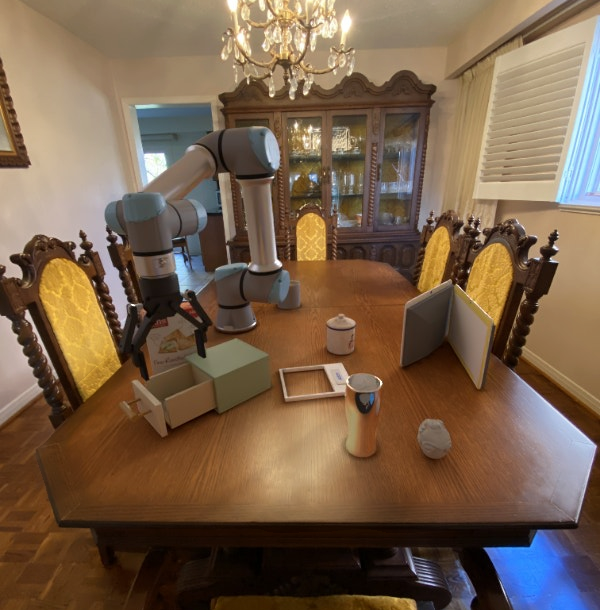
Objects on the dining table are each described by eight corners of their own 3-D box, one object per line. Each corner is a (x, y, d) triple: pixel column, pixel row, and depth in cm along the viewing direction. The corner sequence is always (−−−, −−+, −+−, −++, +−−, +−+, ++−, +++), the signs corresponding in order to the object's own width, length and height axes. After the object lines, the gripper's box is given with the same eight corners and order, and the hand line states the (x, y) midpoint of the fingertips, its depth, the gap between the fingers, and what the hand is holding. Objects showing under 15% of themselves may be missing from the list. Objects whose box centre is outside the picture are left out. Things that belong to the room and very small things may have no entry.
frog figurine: (440, 440, 70) (444, 412, 68) (455, 467, 64) (461, 436, 61) (410, 442, 70) (413, 413, 68) (423, 468, 64) (427, 438, 61)
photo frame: (357, 390, 86) (285, 397, 83) (356, 393, 86) (285, 401, 84) (341, 362, 99) (279, 368, 97) (341, 365, 100) (279, 371, 97)
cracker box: (156, 390, 90) (141, 315, 82) (154, 380, 95) (139, 308, 87) (210, 376, 96) (200, 305, 88) (205, 367, 101) (195, 299, 93)
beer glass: (340, 436, 72) (341, 373, 67) (372, 433, 73) (377, 371, 67) (347, 460, 66) (349, 393, 60) (383, 457, 66) (388, 391, 61)
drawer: (141, 448, 69) (133, 415, 66) (118, 418, 78) (111, 388, 75) (222, 407, 81) (218, 378, 78) (194, 385, 90) (190, 359, 87)
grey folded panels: (495, 391, 86) (510, 318, 79) (405, 388, 88) (412, 317, 81) (452, 334, 118) (461, 278, 111) (387, 333, 120) (392, 278, 113)
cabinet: (219, 414, 80) (214, 378, 77) (189, 389, 90) (184, 357, 87) (271, 387, 90) (269, 354, 87) (239, 368, 100) (236, 338, 97)
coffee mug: (299, 300, 156) (298, 279, 152) (301, 308, 147) (300, 285, 143) (269, 302, 155) (268, 280, 151) (269, 310, 145) (268, 287, 142)
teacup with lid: (354, 356, 105) (356, 320, 101) (324, 354, 106) (325, 319, 102) (355, 339, 116) (356, 307, 112) (328, 338, 118) (328, 306, 113)
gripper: (95, 292, 59) (123, 396, 67) (220, 265, 75) (231, 353, 83) (83, 284, 64) (111, 382, 72) (203, 260, 80) (214, 343, 88)
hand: (175, 366), depth 78 cm, fingers open, 13 cm apart
